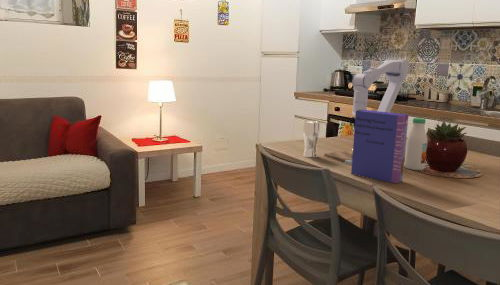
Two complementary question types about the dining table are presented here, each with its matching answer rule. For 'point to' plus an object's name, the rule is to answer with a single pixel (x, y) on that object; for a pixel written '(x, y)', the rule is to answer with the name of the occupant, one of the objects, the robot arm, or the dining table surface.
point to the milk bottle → (416, 146)
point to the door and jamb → (341, 156)
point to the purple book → (379, 145)
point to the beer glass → (311, 138)
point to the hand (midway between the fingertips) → (357, 133)
